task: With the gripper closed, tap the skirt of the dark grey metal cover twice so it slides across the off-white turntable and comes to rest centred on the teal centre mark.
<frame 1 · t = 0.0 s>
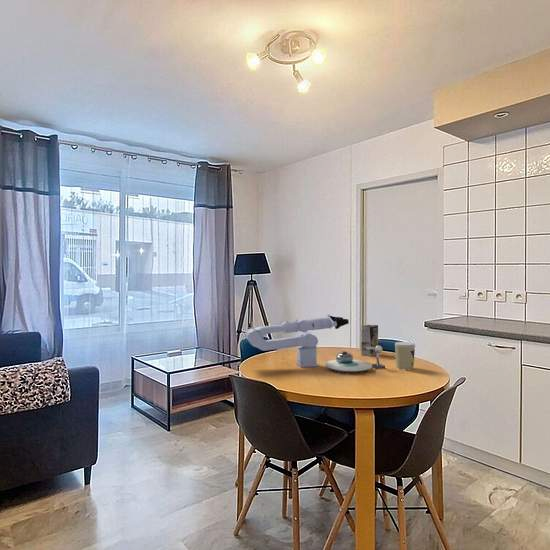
hand: (345, 320, 215), 22 cm above the table, tool horizontal, fingers open, 7 cm apart
coffee cup: (404, 368, 204), on the table
dial gauge: (377, 367, 205), on the table
turntable base: (348, 369, 203), on the table
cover: (344, 361, 208), point 2 cm above the table, touching platter
platter: (348, 364, 203), point 2 cm above the table, hinge at 0.0°, touching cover
coffee box: (369, 354, 237), on the table
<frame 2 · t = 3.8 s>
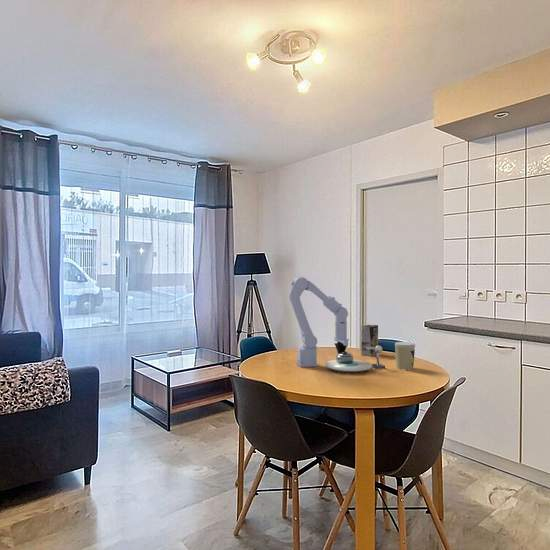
hand: (340, 357, 213), 3 cm above the table, tool pointing down, fingers closed
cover: (344, 361, 208), point 2 cm above the table, touching gripper
platter: (348, 364, 203), point 2 cm above the table, hinge at 0.0°
everything else where it was.
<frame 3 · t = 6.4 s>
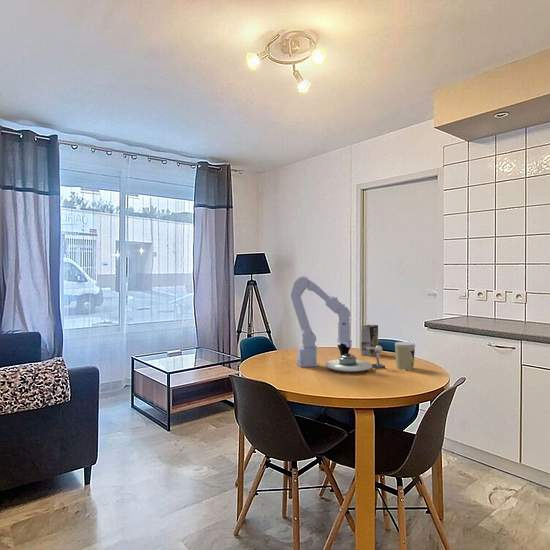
hand: (344, 359, 208), 3 cm above the table, tool pointing down, fingers closed
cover: (347, 363, 203), point 2 cm above the table, touching gripper
everything else where it was.
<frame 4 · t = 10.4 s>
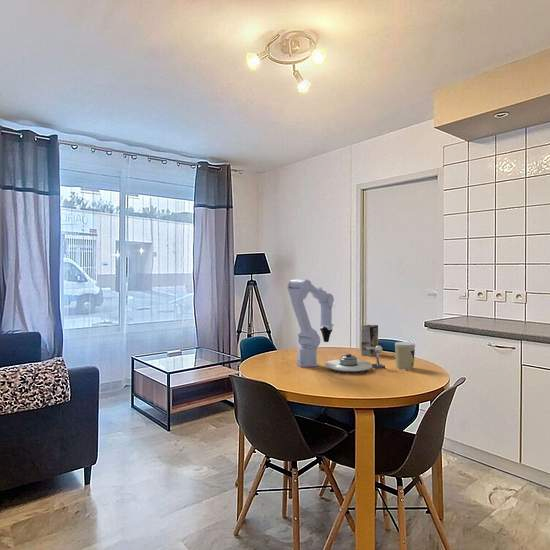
hand: (326, 341, 223), 9 cm above the table, tool pointing down, fingers closed
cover: (348, 364, 202), point 2 cm above the table, touching platter
platter: (348, 364, 203), point 2 cm above the table, hinge at 0.0°, touching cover
everything else where it was.
at the end: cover 0.6 cm from the platter (horizontally); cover tilted 0°; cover touching platter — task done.
